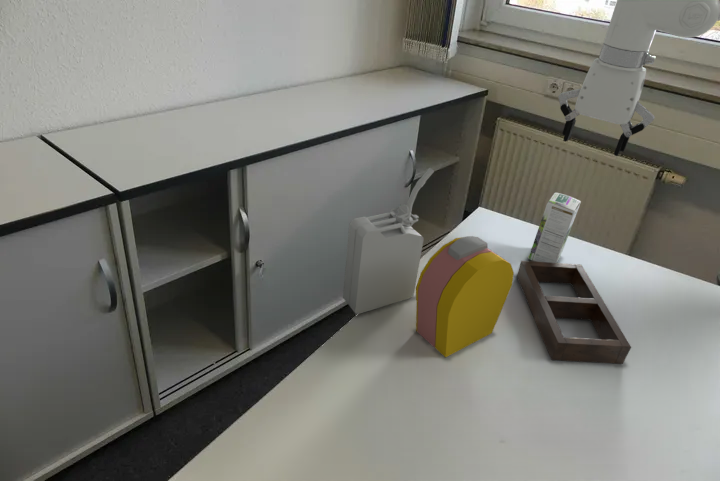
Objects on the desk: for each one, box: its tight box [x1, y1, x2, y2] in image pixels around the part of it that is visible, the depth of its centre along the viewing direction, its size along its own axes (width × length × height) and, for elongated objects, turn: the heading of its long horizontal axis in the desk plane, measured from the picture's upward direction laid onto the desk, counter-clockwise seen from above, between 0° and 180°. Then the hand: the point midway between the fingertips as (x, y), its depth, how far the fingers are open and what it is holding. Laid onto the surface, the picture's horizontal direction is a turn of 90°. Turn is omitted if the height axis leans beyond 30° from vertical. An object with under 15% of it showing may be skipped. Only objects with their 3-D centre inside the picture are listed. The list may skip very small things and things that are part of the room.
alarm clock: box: [415, 235, 515, 358], centre depth 90 cm, size 15×8×18 cm, turn 126°
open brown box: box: [516, 260, 632, 365], centre depth 100 cm, size 12×24×4 cm, turn 1°
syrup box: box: [527, 192, 582, 263], centre depth 114 cm, size 6×6×14 cm
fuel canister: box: [342, 167, 435, 315], centre depth 95 cm, size 15×5×25 cm, turn 120°
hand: (591, 146), depth 105 cm, fingers open, 9 cm apart
